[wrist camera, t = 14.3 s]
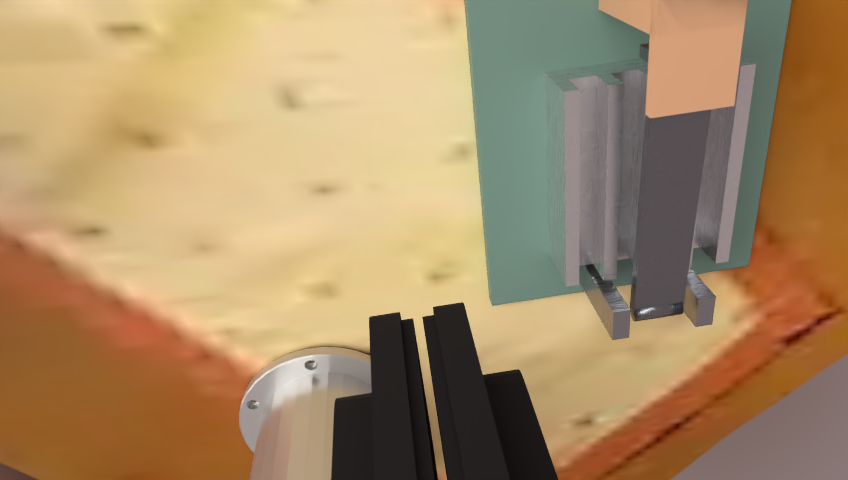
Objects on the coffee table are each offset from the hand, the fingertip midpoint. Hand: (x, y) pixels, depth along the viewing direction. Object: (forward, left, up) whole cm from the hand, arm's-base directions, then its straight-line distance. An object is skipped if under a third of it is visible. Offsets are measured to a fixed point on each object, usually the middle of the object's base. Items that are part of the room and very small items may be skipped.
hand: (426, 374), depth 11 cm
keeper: (0, -14, -26) cm, 30 cm away
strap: (-8, -14, -22) cm, 27 cm away
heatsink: (-10, -14, -26) cm, 31 cm away
